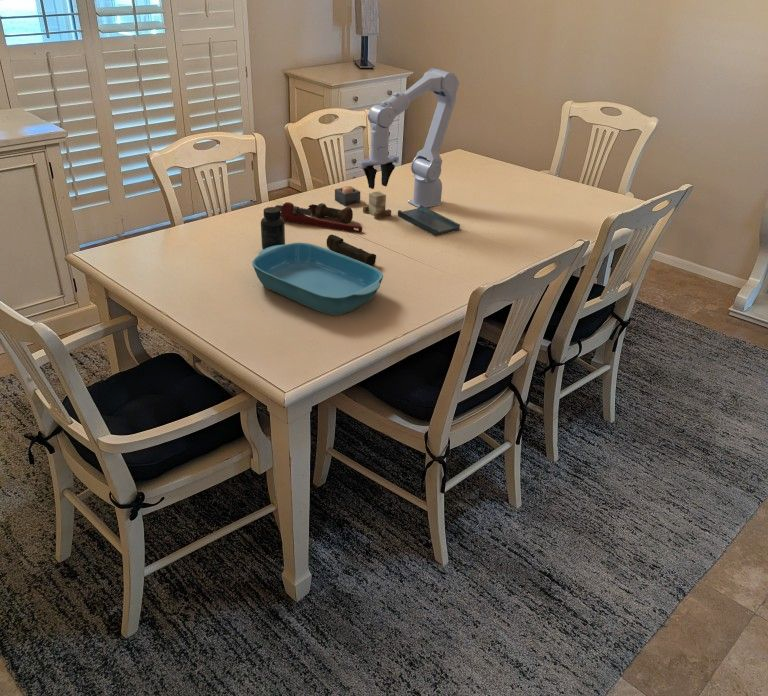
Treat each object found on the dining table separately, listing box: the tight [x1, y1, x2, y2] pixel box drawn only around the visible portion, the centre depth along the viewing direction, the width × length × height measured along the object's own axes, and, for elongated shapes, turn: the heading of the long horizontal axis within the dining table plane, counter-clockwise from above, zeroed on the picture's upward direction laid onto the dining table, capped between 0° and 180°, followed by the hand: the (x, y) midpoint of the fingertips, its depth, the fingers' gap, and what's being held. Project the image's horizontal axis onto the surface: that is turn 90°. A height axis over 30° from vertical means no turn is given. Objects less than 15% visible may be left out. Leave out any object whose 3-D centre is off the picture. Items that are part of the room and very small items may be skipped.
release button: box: [341, 185, 354, 193], centre depth 238 cm, size 4×4×4 cm
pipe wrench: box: [274, 201, 363, 234], centre depth 217 cm, size 7×2×30 cm
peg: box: [368, 190, 387, 217], centre depth 228 cm, size 4×4×7 cm
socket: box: [362, 204, 392, 220], centre depth 229 cm, size 6×8×2 cm
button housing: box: [334, 185, 361, 207], centre depth 238 cm, size 6×6×4 cm
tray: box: [397, 205, 461, 237], centre depth 224 cm, size 10×20×2 cm, turn 36°
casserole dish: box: [251, 242, 384, 316], centre depth 179 cm, size 37×22×7 cm, turn 53°
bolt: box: [307, 202, 354, 224], centre depth 224 cm, size 6×5×15 cm
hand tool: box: [326, 234, 377, 267], centre depth 199 cm, size 19×4×5 cm, turn 44°
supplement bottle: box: [260, 206, 286, 250], centre depth 199 cm, size 7×7×12 cm
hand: (377, 186), depth 225 cm, fingers open, 5 cm apart
